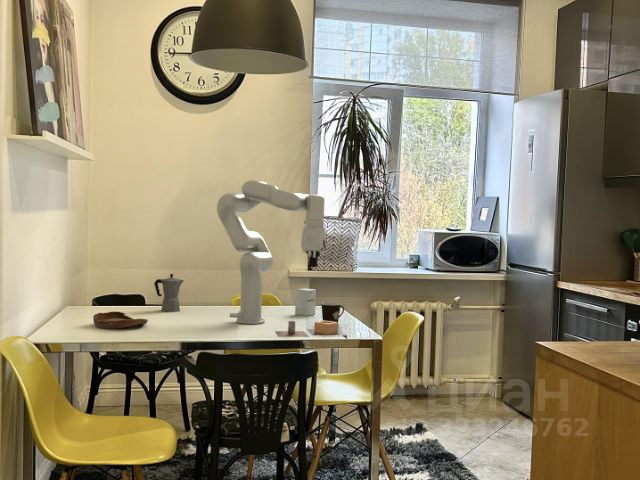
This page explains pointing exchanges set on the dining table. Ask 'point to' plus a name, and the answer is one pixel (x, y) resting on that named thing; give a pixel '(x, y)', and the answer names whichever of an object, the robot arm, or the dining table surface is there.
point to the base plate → (328, 334)
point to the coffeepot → (169, 293)
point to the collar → (326, 327)
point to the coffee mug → (331, 311)
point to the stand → (291, 331)
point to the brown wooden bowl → (116, 320)
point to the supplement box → (305, 302)
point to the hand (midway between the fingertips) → (313, 266)
